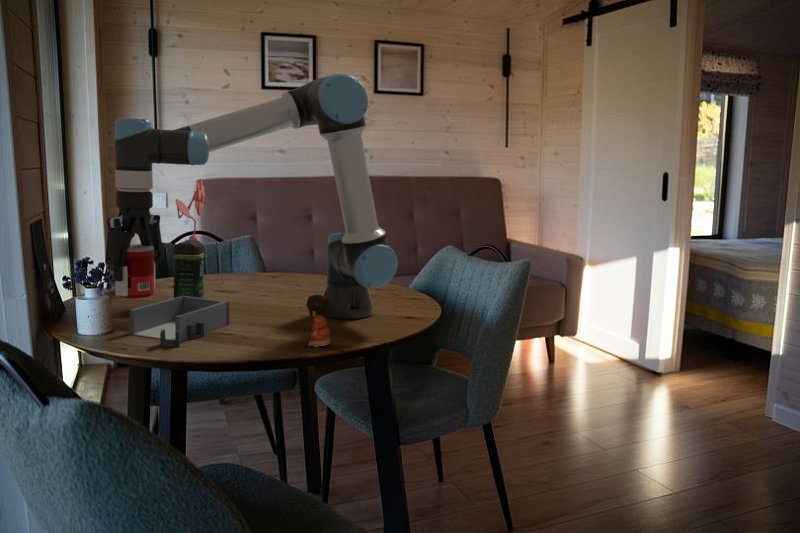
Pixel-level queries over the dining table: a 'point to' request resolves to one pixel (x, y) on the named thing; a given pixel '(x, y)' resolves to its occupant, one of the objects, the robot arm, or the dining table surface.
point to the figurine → (319, 319)
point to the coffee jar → (189, 269)
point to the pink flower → (199, 201)
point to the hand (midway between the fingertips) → (136, 291)
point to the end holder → (178, 317)
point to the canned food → (140, 271)
